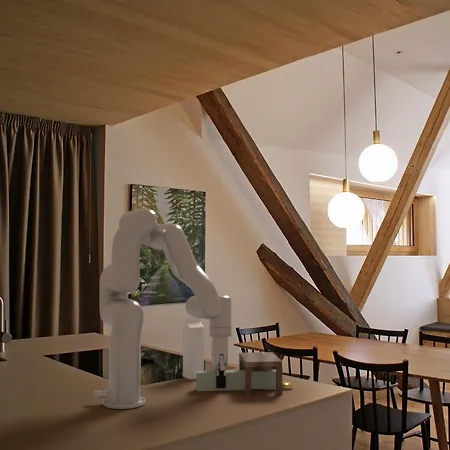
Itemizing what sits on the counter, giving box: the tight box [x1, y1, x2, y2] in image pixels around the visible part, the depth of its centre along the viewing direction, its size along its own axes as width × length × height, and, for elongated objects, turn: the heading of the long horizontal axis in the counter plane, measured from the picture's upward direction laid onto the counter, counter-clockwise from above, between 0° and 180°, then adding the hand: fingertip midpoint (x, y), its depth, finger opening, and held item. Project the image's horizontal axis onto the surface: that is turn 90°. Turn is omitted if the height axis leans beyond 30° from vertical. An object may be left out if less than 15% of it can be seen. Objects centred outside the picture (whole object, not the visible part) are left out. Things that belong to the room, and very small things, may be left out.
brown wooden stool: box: [238, 351, 284, 396], centre depth 180 cm, size 12×18×11 cm, turn 5°
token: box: [282, 381, 294, 391], centre depth 180 cm, size 5×5×2 cm
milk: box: [182, 317, 205, 381], centre depth 198 cm, size 6×6×22 cm
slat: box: [195, 369, 276, 392], centre depth 179 cm, size 28×3×6 cm, turn 95°
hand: (220, 386), depth 178 cm, fingers closed on slat, 3 cm apart
